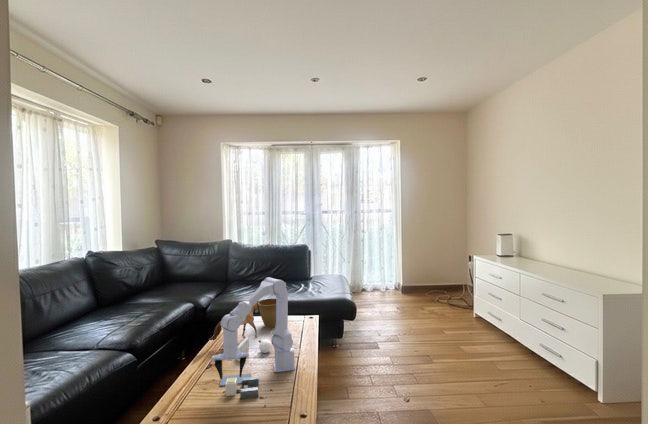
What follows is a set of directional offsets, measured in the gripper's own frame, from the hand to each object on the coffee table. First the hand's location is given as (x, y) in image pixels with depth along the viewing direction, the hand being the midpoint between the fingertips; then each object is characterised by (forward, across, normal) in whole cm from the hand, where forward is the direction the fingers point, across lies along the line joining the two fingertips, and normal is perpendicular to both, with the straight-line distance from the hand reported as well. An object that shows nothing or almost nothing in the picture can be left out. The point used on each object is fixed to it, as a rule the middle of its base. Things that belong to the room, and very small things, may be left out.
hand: (231, 376), depth 125 cm
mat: (+7, +1, +10) cm, 12 cm away
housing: (+7, +8, 0) cm, 10 cm away
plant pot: (+7, +17, +71) cm, 73 cm away
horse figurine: (+7, -3, +52) cm, 53 cm away
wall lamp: (+7, +2, 0) cm, 7 cm away
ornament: (+7, +14, +34) cm, 37 cm away
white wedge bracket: (+7, +2, +30) cm, 31 cm away
